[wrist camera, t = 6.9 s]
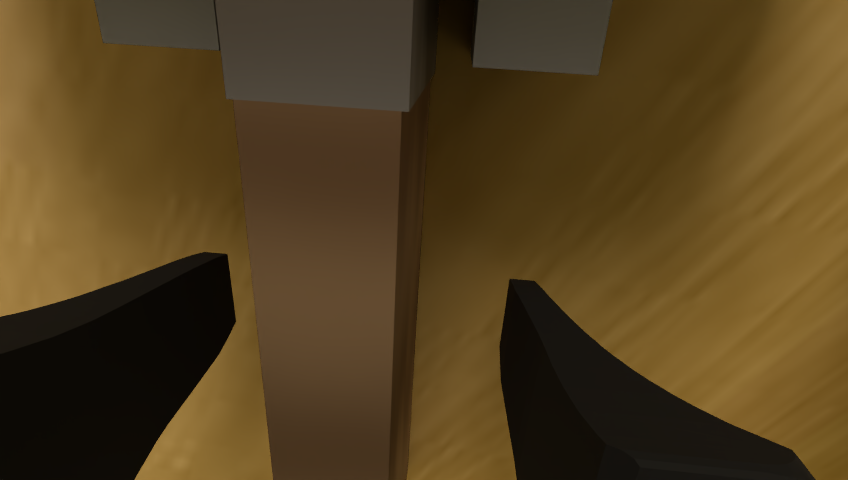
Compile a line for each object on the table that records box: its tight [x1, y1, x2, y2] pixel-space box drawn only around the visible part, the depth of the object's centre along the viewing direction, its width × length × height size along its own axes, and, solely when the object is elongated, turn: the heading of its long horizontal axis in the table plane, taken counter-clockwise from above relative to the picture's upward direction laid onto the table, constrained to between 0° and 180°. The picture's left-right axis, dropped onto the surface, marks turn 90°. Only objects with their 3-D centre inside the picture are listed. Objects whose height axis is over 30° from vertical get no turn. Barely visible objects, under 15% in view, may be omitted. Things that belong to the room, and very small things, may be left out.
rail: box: [215, 0, 439, 480], centre depth 12 cm, size 17×3×6 cm, turn 177°
